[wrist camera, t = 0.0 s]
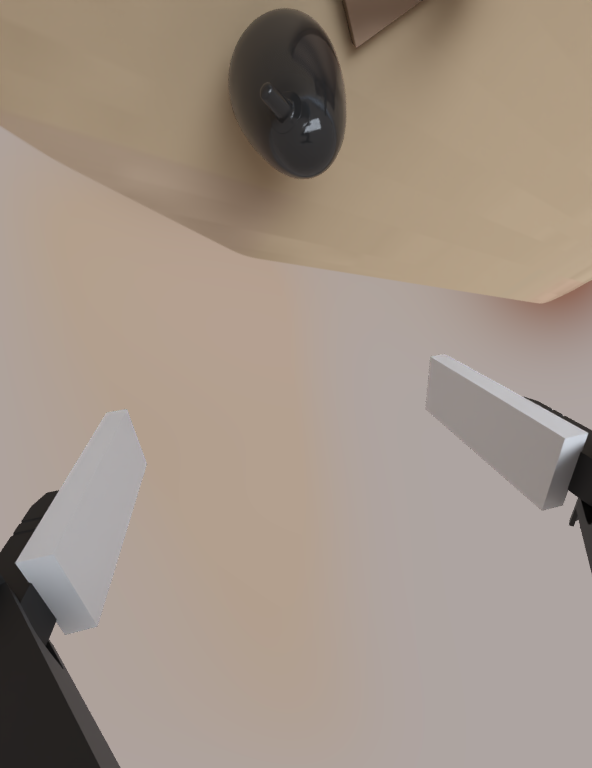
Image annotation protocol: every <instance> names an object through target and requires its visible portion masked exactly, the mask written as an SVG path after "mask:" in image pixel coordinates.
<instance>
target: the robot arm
mask: <svg viewBox="0 0 592 768" xmlns="http://www.w3.org/2000/svg"><path fill="white" fill-rule="evenodd" d="M426 410H427V411H428V412H430V413H431V414H432V415H433V416H434V417H435V418H436V419H438V420H439V421H440V422H441V423H442V424H443V425H444V426H446V427H447V428H448V429H449V430H450V431H451V432H453V433H454V434H455V435H456V436H457V437H458V438H459V439H460V440H462V441H463V442H464V443H465V444H466V445H467V446H468V447H470V448H471V449H472V450H473V451H474V452H475V453H476V454H478V455H479V456H480V457H481V458H482V459H483V460H484V461H486V462H487V463H488V464H489V465H490V466H491V467H493V468H494V469H495V470H496V471H497V472H498V473H499V474H501V475H502V476H503V477H504V478H505V479H506V480H507V481H509V482H510V483H511V484H512V485H513V486H514V487H516V488H517V489H518V490H519V491H520V492H521V493H523V495H525V496H526V497H527V498H528V499H529V500H530V501H531V502H533V503H534V504H535V505H536V506H537V507H538V508H539V509H541V510H546V509H550V508H554V507H558V506H562V505H563V503H564V500H565V498H566V495H567V492H568V490H569V491H570V492H572V493H573V494H575V495H576V496H577V497H578V500H577V502H576V505H575V508H574V510H573V513H572V515H571V518H570V522H569V525H570V526H574V524H575V521H577V520H579V523H580V528H581V531H582V536H583V539H584V544H585V548H586V552H587V556H588V560H589V564H590V568H591V572H592V430H590V429H588V428H586V427H584V426H583V425H581V424H579V423H577V422H575V421H574V420H572V419H570V418H568V417H566V416H563V415H562V414H561V413H559V412H557V411H555V410H552V409H551V408H549V407H548V406H546V405H544V404H542V403H540V402H538V401H535V400H532V399H529V398H526V397H523V396H521V395H519V394H517V393H515V392H513V391H511V390H510V389H508V388H506V387H504V386H503V385H501V384H499V383H497V382H495V381H494V380H492V379H490V378H488V377H486V376H485V375H483V374H481V373H479V372H477V371H476V370H474V369H472V368H470V367H468V366H466V365H465V364H463V363H461V362H459V361H457V360H456V359H454V358H452V357H450V356H448V355H447V354H443V355H437V356H432V357H430V366H429V377H428V388H427V399H426ZM146 465H147V463H146V460H145V457H144V455H143V452H142V449H141V447H140V444H139V441H138V438H137V435H136V433H135V430H134V427H133V424H132V421H131V419H130V416H129V413H128V410H127V409H124V410H119V411H113V412H107V413H106V414H105V416H104V418H103V419H102V421H101V423H100V424H99V426H98V428H97V429H96V431H95V432H94V434H93V436H92V437H91V439H90V441H89V443H88V444H87V446H86V447H85V449H84V451H83V452H82V454H81V456H80V457H79V459H78V460H77V462H76V464H75V465H74V467H73V469H72V470H71V472H70V474H69V475H68V477H67V478H66V480H65V482H64V483H63V485H62V487H61V488H60V490H58V491H53V492H48V493H46V494H45V495H44V496H43V497H42V498H40V499H39V500H38V501H37V502H36V503H35V504H34V505H32V507H31V508H30V509H29V511H28V512H27V514H26V515H25V517H24V518H23V520H22V523H21V524H19V525H18V527H17V528H16V530H15V532H14V535H13V536H11V537H10V539H9V540H8V542H7V543H6V545H5V546H4V548H3V549H2V551H1V552H0V768H120V766H119V765H118V762H117V761H116V759H115V757H114V755H113V753H112V751H111V750H110V748H109V746H108V744H107V742H106V741H105V739H104V737H103V735H102V733H101V731H100V730H99V728H98V726H97V724H96V722H95V721H94V719H93V717H92V715H91V713H90V711H89V710H88V708H87V706H86V704H85V702H84V700H83V699H82V697H81V695H80V693H79V691H78V690H77V688H76V686H75V684H74V682H73V680H72V679H71V677H70V675H69V673H68V671H67V669H66V668H65V666H64V664H63V662H62V660H61V659H60V657H59V655H58V653H57V651H56V650H55V648H54V646H53V644H52V643H51V642H50V640H49V637H50V635H51V632H52V630H53V628H54V625H55V623H56V622H57V623H58V625H59V627H60V628H61V629H62V631H63V632H64V634H65V635H67V634H70V633H74V632H78V631H82V630H86V629H90V628H93V627H97V626H98V623H99V620H100V617H101V613H102V610H103V607H104V603H105V600H106V597H107V593H108V590H109V586H110V584H111V580H112V577H113V574H114V570H115V567H116V564H117V561H118V557H119V554H120V551H121V548H122V544H123V541H124V538H125V534H126V531H127V528H128V524H129V521H130V518H131V515H132V511H133V508H134V505H135V502H136V498H137V495H138V492H139V488H140V485H141V482H142V478H143V475H144V472H145V468H146Z"/></svg>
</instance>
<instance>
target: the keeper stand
mask: <svg viewBox="0 0 592 768" xmlns="http://www.w3.org/2000/svg"><path fill="white" fill-rule="evenodd" d="M421 1H422V0H343V4H344V9H345V13H346V17H347V21H348V26H349V30H350V34H351V38H352V43H353V44H354V46H355V47H356V48H357V47H359V46H360V45H361V44H363V43H364V42H366V41H367V40H368V39H370V38H371V37H372V36H374V35H375V34H377V33H378V32H379V31H381V30H382V29H383V28H385V27H386V26H388V25H389V24H390V23H392V22H393V21H395V20H396V19H397V18H399V17H400V16H401V15H403V14H404V13H406V12H407V11H408V10H410V9H411V8H413V7H414V6H415V5H417V4H418V3H419V2H421Z"/></svg>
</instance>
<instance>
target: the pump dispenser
mask: <svg viewBox="0 0 592 768" xmlns="http://www.w3.org/2000/svg"><path fill="white" fill-rule="evenodd" d="M229 95H230V101H231V105H232V109H233V112H234V115H235V117H236V120H237V122H238V124H239V126H240V128H241V130H242V132H243V133H244V135H245V136H246V138H247V139H248V141H249V142H250V144H251V145H252V146H253V148H254V149H255V150H256V151H257V152H258V154H259V155H260V156H261V157H262V158H263V159H264V160H265V161H267V162H268V163H269V164H270V165H271V166H272V167H273V168H275V169H276V170H278V171H279V172H281V173H283V174H285V175H287V176H289V177H292V178H296V179H310V178H314V177H316V176H319V175H320V174H322V173H323V172H325V171H326V170H327V169H328V168H329V167H330V166H331V165H332V163H333V162H334V160H335V159H336V157H337V155H338V153H339V151H340V148H341V146H342V142H343V139H344V134H345V127H346V95H345V87H344V81H343V76H342V72H341V68H340V64H339V61H338V57H337V54H336V52H335V49H334V47H333V45H332V43H331V41H330V39H329V37H328V35H327V34H326V32H325V31H324V30H323V28H322V27H321V26H320V25H319V24H318V22H316V21H315V20H314V19H313V18H312V17H310V16H309V15H307V14H306V13H304V12H301V11H299V10H295V9H288V8H282V9H276V10H272V11H269V12H267V13H265V14H263V15H261V16H260V17H258V18H257V19H256V20H254V21H253V22H252V23H251V24H250V25H249V26H248V28H247V29H246V30H245V31H244V33H243V34H242V36H241V37H240V39H239V41H238V43H237V45H236V47H235V50H234V52H233V56H232V59H231V63H230V69H229Z"/></svg>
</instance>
